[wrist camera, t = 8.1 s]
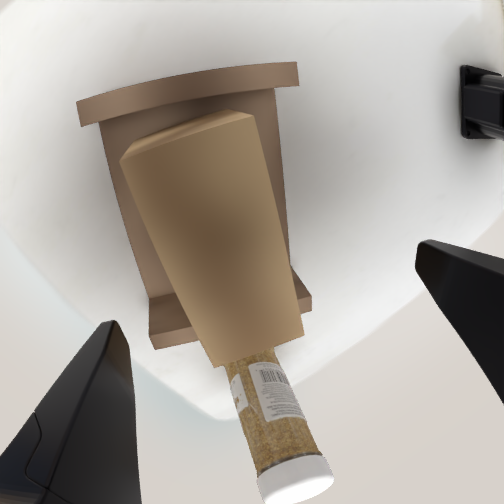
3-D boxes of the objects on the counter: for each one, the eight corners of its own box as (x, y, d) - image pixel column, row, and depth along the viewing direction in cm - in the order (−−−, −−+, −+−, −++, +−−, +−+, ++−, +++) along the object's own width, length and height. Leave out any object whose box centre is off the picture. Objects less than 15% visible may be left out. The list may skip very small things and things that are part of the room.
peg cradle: (268, 67, 17) (296, 61, 13) (288, 274, 24) (311, 310, 20) (96, 99, 15) (76, 101, 11) (154, 306, 22) (154, 349, 18)
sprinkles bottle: (209, 356, 26) (248, 507, 14) (249, 323, 25) (311, 477, 14) (246, 376, 28) (293, 508, 16) (283, 346, 27) (348, 480, 16)
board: (226, 108, 14) (253, 115, 10) (273, 279, 19) (304, 335, 15) (134, 140, 14) (118, 161, 9) (200, 305, 19) (214, 367, 14)
